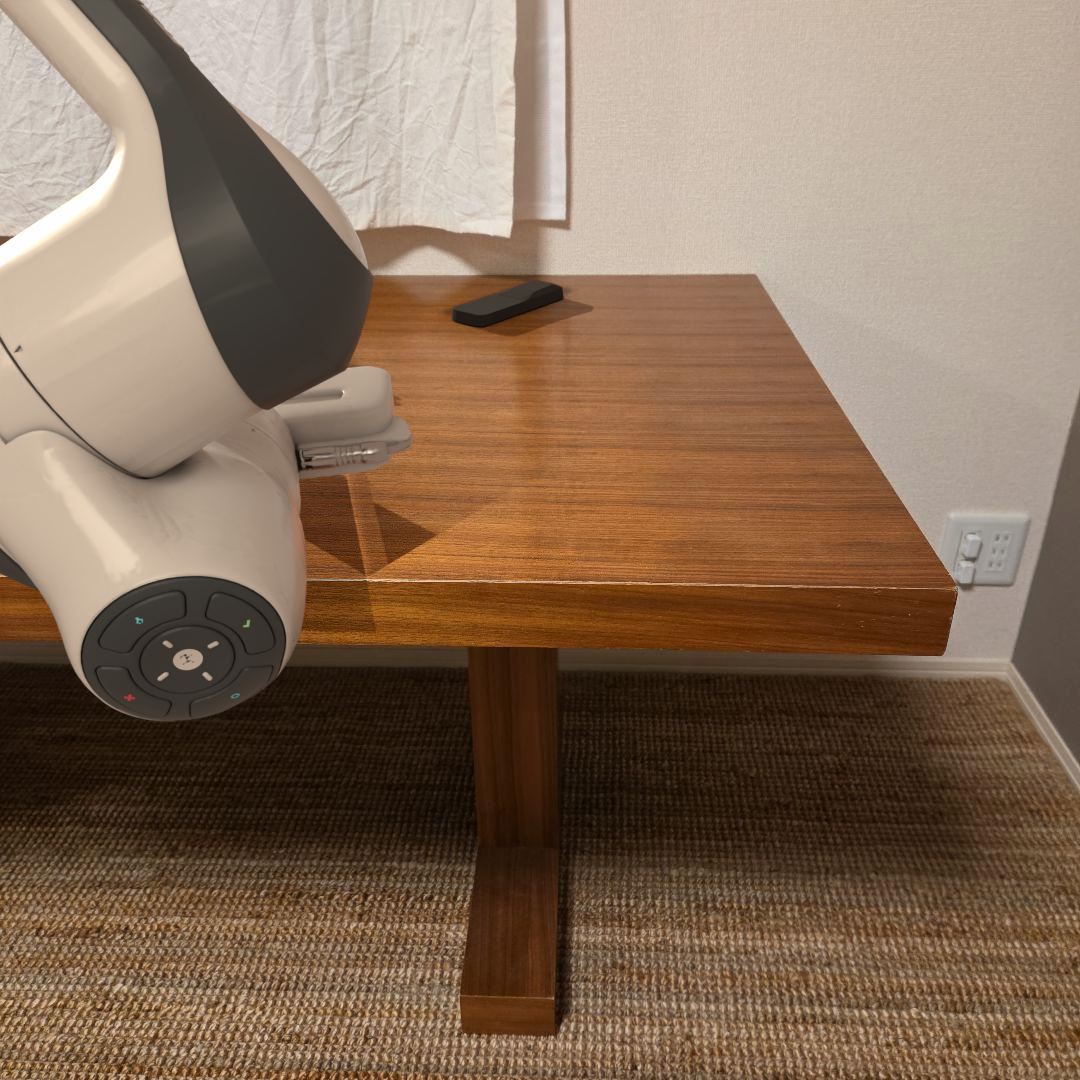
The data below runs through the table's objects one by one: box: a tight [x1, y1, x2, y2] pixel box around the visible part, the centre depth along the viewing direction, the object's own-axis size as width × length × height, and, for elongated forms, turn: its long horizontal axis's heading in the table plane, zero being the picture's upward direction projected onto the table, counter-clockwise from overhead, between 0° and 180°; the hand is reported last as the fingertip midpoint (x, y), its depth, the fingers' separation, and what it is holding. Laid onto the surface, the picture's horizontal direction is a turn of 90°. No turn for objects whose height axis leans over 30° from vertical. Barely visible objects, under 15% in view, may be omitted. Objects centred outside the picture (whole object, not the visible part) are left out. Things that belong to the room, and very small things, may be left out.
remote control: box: [451, 279, 565, 328], centre depth 114 cm, size 5×2×15 cm
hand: (214, 380), depth 61 cm, fingers open, 8 cm apart
